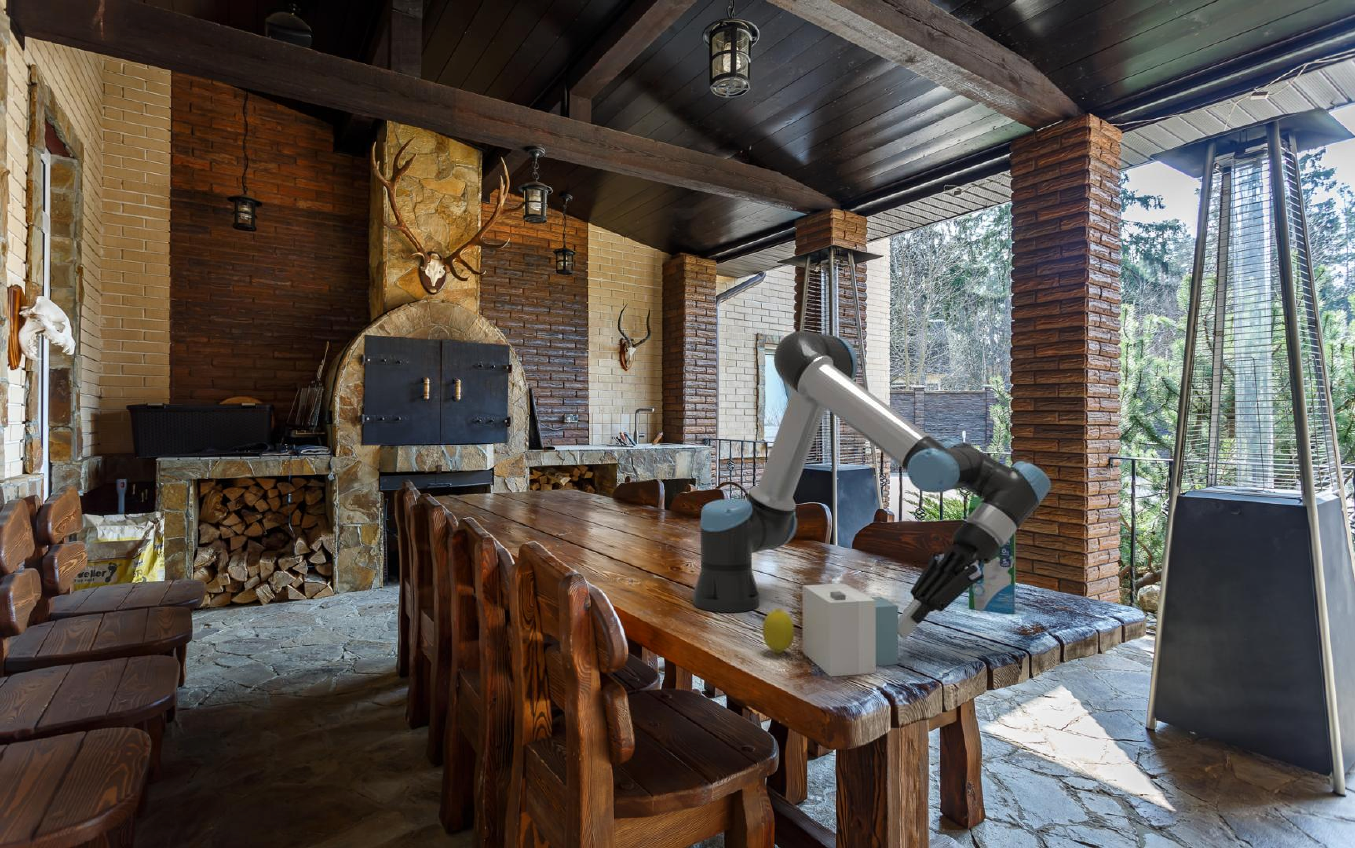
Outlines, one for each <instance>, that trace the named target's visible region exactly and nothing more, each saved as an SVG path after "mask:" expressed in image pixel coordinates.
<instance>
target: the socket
mask: <svg viewBox="0 0 1355 848" xmlns="http://www.w3.org/2000/svg"><path fill="white" fill-rule="evenodd" d="M870 597H871V596H869V595H866V594H864V593H863V592H861V591H860V590H857V589H855V588H853V587H852V586H850V585H848V584H846V583H827V584H826V583H825V584H824V583H823V584H807V585H805V584H803V585H802V653H803V654H804V655H805V656H806V657H808V658H809V659H810V660H811V661H812V662H813V663H815V665H817V666H818V667H819V669H821V670H822V671H823V672H824V673H826V674H827V675H828V676H829V677H830V678H831V677H844V676H855V675H857V676H858V675H866V674H867V675H868V674H876V673H877V671H876V669H877V666H876V600H874V599H872V598H870Z"/></svg>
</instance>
